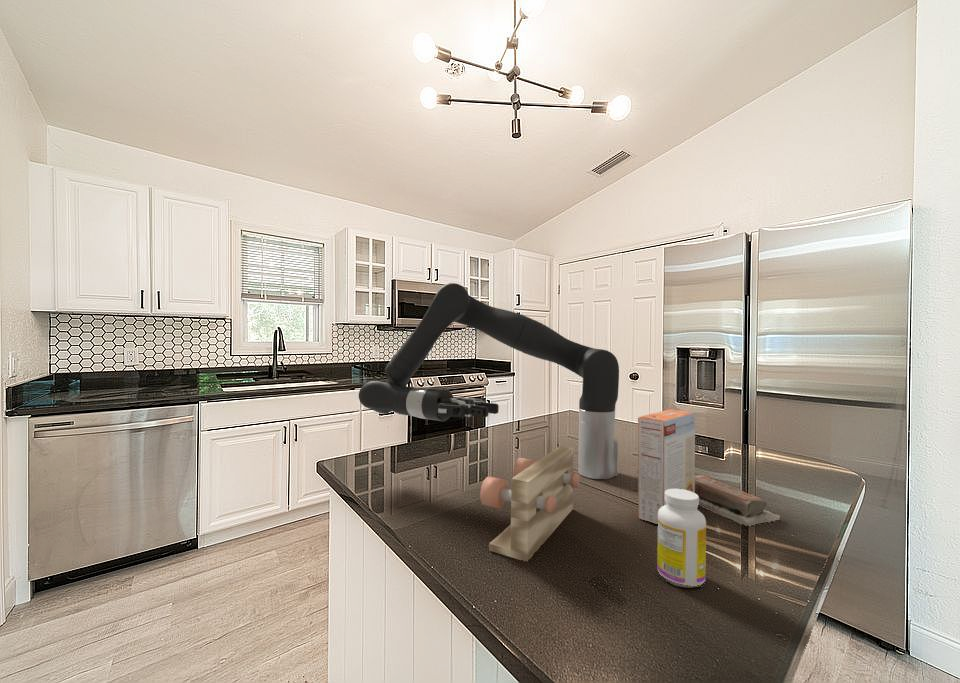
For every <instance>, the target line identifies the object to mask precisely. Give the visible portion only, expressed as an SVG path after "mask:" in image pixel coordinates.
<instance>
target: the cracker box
mask: <svg viewBox="0 0 960 683" xmlns="http://www.w3.org/2000/svg"><path fill="white" fill-rule="evenodd" d="M637 428H638V429H637V438H638V439H637V519H638V518H639V519H638V520H640V519H642V520H641V521H643V520H645V521H644V522H646V521H649V522H652V523H655V524H658V511H659V509H660V508H661V507H662V506H664V505H666V501H665V491H666V490H667V489H683V490H688V491H691V492H693V493H695V475H696V473H695V471H696V470H695V469H696V467H695V466H696V465H695V464H696V463H695V462H696V461H695V460H696V449H695V448H696V446H695V445H696V444H695V443H696V412H695V411H687V410H680V409H673V408H672V409H671V408H670V409H666V410H661V411H658V412H653V413H650V414H646V415H642V416H638V418H637ZM649 522H648V523H649Z"/></svg>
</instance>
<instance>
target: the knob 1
mask: <svg viewBox="0 0 960 683" xmlns="http://www.w3.org/2000/svg"><path fill="white" fill-rule="evenodd" d="M479 498H480V502H481V504H482V505H483V506H488V507H491V508H495V509H501V508H503V507H504V505H505V503H506V502H509V503H511V489H509V488H508V483H507V480H506V479H503V478H498V477H494V476H486V477H485V478H484V480H483V481H482V483H481V487H480V492H479ZM536 508H539V509H543V510H545V512H546V513H549V514H553V513H554V512H555V509H556V498H555V497H554V496H547V498H546V497H542V496H537V499H536Z"/></svg>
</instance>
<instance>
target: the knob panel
mask: <svg viewBox="0 0 960 683" xmlns="http://www.w3.org/2000/svg"><path fill="white" fill-rule="evenodd" d="M563 473H567V474H573V473H574V447H568V446H562V445H559V446H558V447H556V448H555V449H553V450H551V451H550V452H549V453H547V454H546V455H544V456H543V457H541V458H539V459H538V460H537V461H535V463H534V464H532V465H531V466H529V467H528V468H526V469H525V470H524V471H522V472H521V473H519V474H518V475H516V476H515V477H514V476H513V477H512V478H511V482H510V483H511V487H510V488H511V489H510V490H511V502H510V503H511V504H510V524H509V525H508V526H507V527H506V528H505V529H504V530H503V531H502V532H501V533H499V534H498V535H497V536H496V537H495V538H494V539H493V540H491V541H490V542H489V543H488V551H489V552H493V553H497V554H498V555H502V556H506V557H509V558H513V559H516V560H519V561H522V560H523V561H522V562H525V561H527V562H526V563H528V562H529V561H530V560H531V559H532V557H533V556H534V555H535V554H536V553H537V551H538V550H539V549H540V548H541V547H540V546H541V545H544V543H545V542H546V541H547V540H548V538H549V537H550V536H551V535H552V534H553V533H554V532H555V530H557V528H558V527H559V525H561V523H562V522H563V521H564V520H565V519H566V518H567V516H568V515H569V514H570V513H571V512H572V511H573V509H574V508H573V506H574V505H573V504H574V503H573V501H574V497H573V496H574V487H571V485H569V484H564V483H563ZM537 496H542V497H546V498H547V496H554V497H555V498H556V509H555V512H554V513H553V514H549V513H546V512H545V510H543V509H539V508H536V499H537ZM535 552H536V553H535ZM534 553H535V554H534ZM533 554H534V555H533ZM529 559H530V560H529ZM528 560H529V561H528Z"/></svg>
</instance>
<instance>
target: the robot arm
mask: <svg viewBox="0 0 960 683" xmlns="http://www.w3.org/2000/svg"><path fill="white" fill-rule="evenodd" d="M453 322H454V323H457V324H461V325H463V326H467V327H470V328H473V329H474V330H475V329H476V330H478V331H480V332H481V333H483V334H485V335H487V336H488V337H490V338H492V339H494V340H496V341H498V342H500V343H501V344H504V345H506V346H507V347H510V348H512V349H514V350H516V351H519V352H521V353H523V354H526V355H528V356H531V357H534V358H537V359H540V360H543V361H548V362H550V363H554V364H556V365H558V366H561V367H563V368H565V369H567V370H569V371H571V372H572V373H574V374H576V375H577V376H579V377H581V378H582V391H581V396H580V397H579V403H578V460H577V461H578V462H577V466H578V468H577V469H578V470H577V472H578V473H579V475H580V476H582V477H585V478H588V479H592V480H593V479H594V480H608V479H612V478H614V477H618V470H619V469H618V468H619V466H618V464H619V458H618V456H619V440H618V439H617V438H616V405H617V401H618V398H619V385H620V383H619V381H620V367H619V366H620V364H619V362H618V359H617V357H616V356H615V354H614V353H612V352H611V351H609V350H608V349H607V350H606V349H601V348H594V347H591V346H588V345H584V344H581V343H578V342H575V341H572V340H570V339H568V338H566V337H565V336H563V335H562V334H560V333H559V332H557V331H556V330H554V329H553V328H551V327H549V326H547V325H545V323H542V322H539V321H538V320H535V319H533V318H530V317H528V316H526V315H524V314H521V313H518V312H515V311H511V310H507V309H502V308H497V307H495V306H491V305H489V304H487V303H484V302H482V301H480V300H478V299H476V298H474V297H473V296H471V295H469V292H468V290H467V289H466V288H465V287H464V286H463V285H461V284H460V283H454V282H450V283H446V284H444V285H442V286H441V287H440V288H439V289H438V290H437V291H436V293H435V296H434V297H433V300H432V302H431V304H430V305H429V307H428V308H427V310H426V313H425V314H424V316H423V318H422V319H421V321H420V322H419V323H418V325H417V326H416V328H414V330H413V331H412V333H411V334H410V335H409V337H408V338H407V339H406V340H405V341H404V343H403V344H402V345H401V346H400V347H399V348H398V350H397V352H396V353H395V354H394V355H393V356H392V358H391V359H390V361H389V362H388V363H387V364H386V366H385V368H384V373H385V374H386V376H387V377H388V381H387V382H384V381H380V380H379V381H378V380H370V381H368V382H366V383H364V384H363V385H362V386H361V387H360V389H359V391H358V400H359V402H360V404H361V405H362V406H363V407H364V408H366V409H369V410H371V411H374V412H375V413H378V414H382V415H386V414H389V413H391V412H393V413H395V414H398V415H402V416H410V417H411V416H412V417H415V418H419V419H424V420H430V421H431V420H432V421H439V422H445V421H447V420H448V419H450V418H461V419H463V418H466V417H467V418H471V417H479V418H488V417H489V414H494V415H495V414H496V415H497V414H498V413H499V408H500V407H499V404H498V403H494V402H487V400H485V399H481V398H475V397H471V396H469V397H467V398H466V397H463V396H455V397H454V395H453V393H452V392H451V390H449V389H447V388H437V387H426V386H422V387H419V386H418V387H417V386H407V385H408V383H409V381H410V380H411V379H412V377H414V375H415V373H416V372H417V371H418V370H419V368H420V367H421V365H422V364H423V362H424V361H425V360H426V358H427V356H428V355H429V354H430V352H431V350H432V349H433V346H434V345H435V344H436V342H437V341H438V339H439V338H440V337H441V335H442V334H443V333H444V332H445V330H447V328H448V327H450V326H451V325H452V324H453Z"/></svg>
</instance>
